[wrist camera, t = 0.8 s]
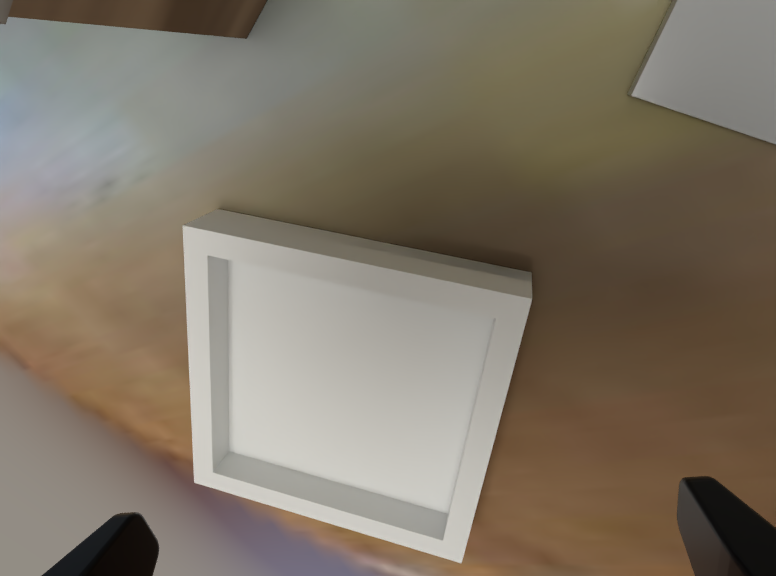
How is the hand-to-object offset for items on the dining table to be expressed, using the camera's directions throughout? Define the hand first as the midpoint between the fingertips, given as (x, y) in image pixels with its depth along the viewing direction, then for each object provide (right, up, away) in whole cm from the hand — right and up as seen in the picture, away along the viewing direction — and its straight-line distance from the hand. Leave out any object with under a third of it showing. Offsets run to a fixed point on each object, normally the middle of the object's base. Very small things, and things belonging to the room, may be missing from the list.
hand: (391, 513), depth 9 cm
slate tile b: (+11, +11, +7) cm, 17 cm away
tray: (-2, 0, +15) cm, 15 cm away
